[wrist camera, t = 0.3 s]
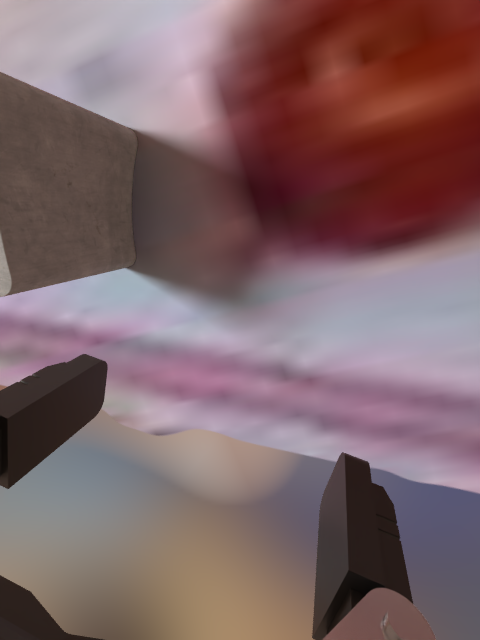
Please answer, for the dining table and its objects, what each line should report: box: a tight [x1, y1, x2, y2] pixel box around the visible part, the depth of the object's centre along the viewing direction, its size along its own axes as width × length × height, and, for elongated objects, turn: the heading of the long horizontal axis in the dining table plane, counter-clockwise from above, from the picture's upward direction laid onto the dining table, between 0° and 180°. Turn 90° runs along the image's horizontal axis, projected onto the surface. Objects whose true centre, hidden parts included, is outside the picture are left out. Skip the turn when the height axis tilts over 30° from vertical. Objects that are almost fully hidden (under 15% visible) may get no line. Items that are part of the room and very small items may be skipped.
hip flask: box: [0, 72, 138, 297], centre depth 31 cm, size 16×4×20 cm, turn 173°
